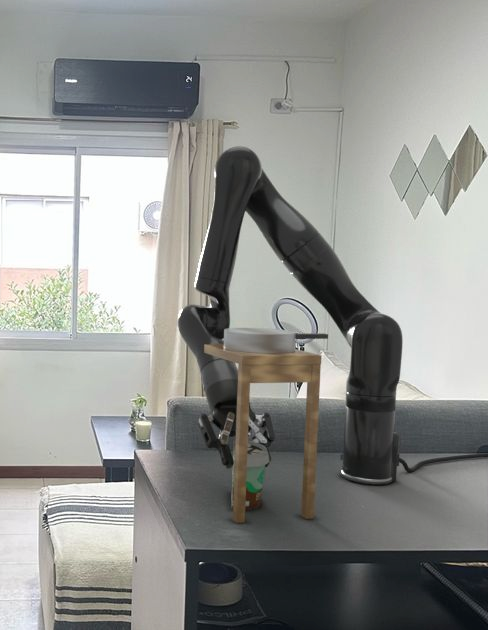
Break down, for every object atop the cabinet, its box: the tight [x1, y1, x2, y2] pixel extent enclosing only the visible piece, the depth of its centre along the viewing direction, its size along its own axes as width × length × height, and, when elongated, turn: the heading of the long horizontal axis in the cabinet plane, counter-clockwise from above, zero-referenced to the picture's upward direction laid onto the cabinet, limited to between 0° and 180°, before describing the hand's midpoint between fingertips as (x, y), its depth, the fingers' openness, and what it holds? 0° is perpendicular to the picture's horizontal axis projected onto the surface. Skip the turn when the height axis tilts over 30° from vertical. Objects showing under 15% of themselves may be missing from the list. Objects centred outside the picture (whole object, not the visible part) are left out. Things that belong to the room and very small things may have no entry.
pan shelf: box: [204, 327, 329, 524], centre depth 130 cm, size 20×16×31 cm
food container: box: [230, 438, 270, 511], centre depth 132 cm, size 12×6×10 cm, turn 168°
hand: (248, 465), depth 133 cm, fingers closed on food container, 6 cm apart
